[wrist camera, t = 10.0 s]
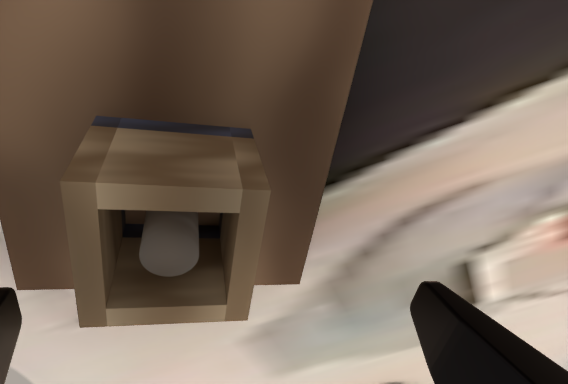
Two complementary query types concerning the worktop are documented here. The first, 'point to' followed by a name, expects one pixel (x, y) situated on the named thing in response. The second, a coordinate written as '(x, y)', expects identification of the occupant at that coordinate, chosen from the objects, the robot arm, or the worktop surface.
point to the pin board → (171, 112)
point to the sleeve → (163, 197)
